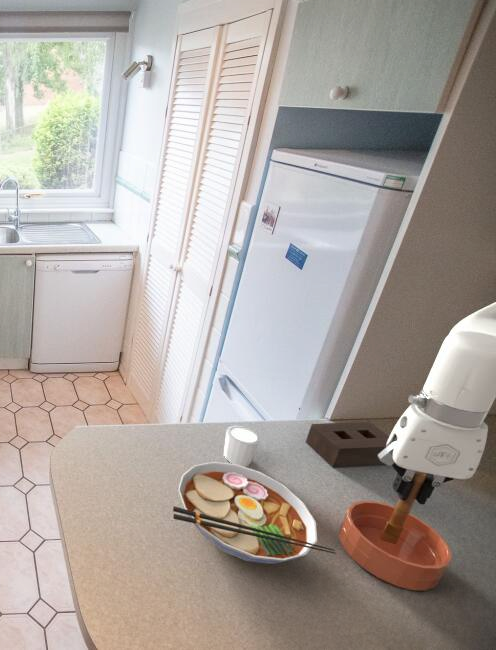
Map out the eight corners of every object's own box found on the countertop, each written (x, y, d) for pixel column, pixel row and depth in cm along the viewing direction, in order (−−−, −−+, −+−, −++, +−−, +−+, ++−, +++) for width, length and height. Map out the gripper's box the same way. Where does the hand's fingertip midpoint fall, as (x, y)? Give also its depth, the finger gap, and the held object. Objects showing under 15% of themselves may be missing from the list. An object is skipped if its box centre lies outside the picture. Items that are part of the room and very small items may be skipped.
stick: (394, 539, 82) (426, 470, 76) (396, 547, 81) (430, 477, 75) (378, 534, 83) (409, 466, 77) (381, 542, 82) (413, 473, 76)
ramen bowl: (295, 506, 93) (306, 475, 90) (331, 611, 73) (347, 577, 70) (165, 476, 101) (171, 446, 98) (166, 564, 81) (174, 531, 78)
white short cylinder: (224, 466, 104) (230, 441, 101) (217, 446, 110) (223, 423, 107) (257, 471, 102) (264, 446, 99) (248, 450, 108) (255, 427, 105)
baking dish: (414, 536, 86) (426, 512, 84) (455, 604, 74) (470, 579, 72) (328, 515, 91) (337, 492, 88) (353, 577, 79) (364, 552, 76)
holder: (305, 442, 111) (311, 423, 109) (362, 439, 112) (369, 421, 110) (332, 467, 103) (340, 448, 101) (393, 464, 104) (402, 445, 101)
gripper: (398, 411, 70) (361, 500, 77) (534, 433, 65) (480, 526, 72) (379, 386, 77) (346, 470, 84) (500, 404, 72) (454, 492, 79)
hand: (408, 495), depth 78 cm, fingers closed on stick, 1 cm apart
